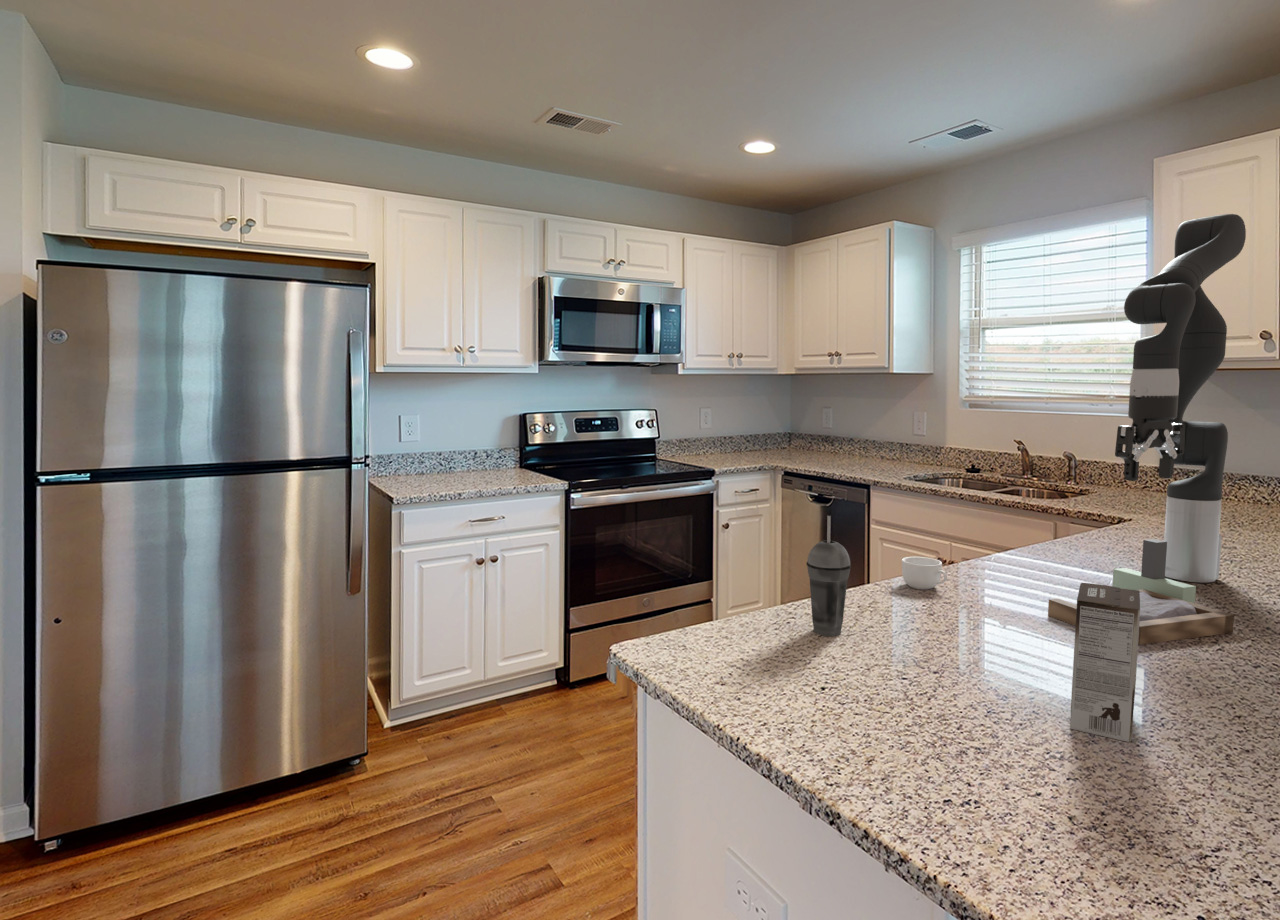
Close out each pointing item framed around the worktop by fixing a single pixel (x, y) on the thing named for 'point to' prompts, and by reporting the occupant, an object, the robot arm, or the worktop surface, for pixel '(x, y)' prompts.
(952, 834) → the worktop surface
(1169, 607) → the stone block
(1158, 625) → the wooden u-shaped frame
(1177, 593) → the board
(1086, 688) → the coffee box
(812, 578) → the beverage cup
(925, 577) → the teacup
